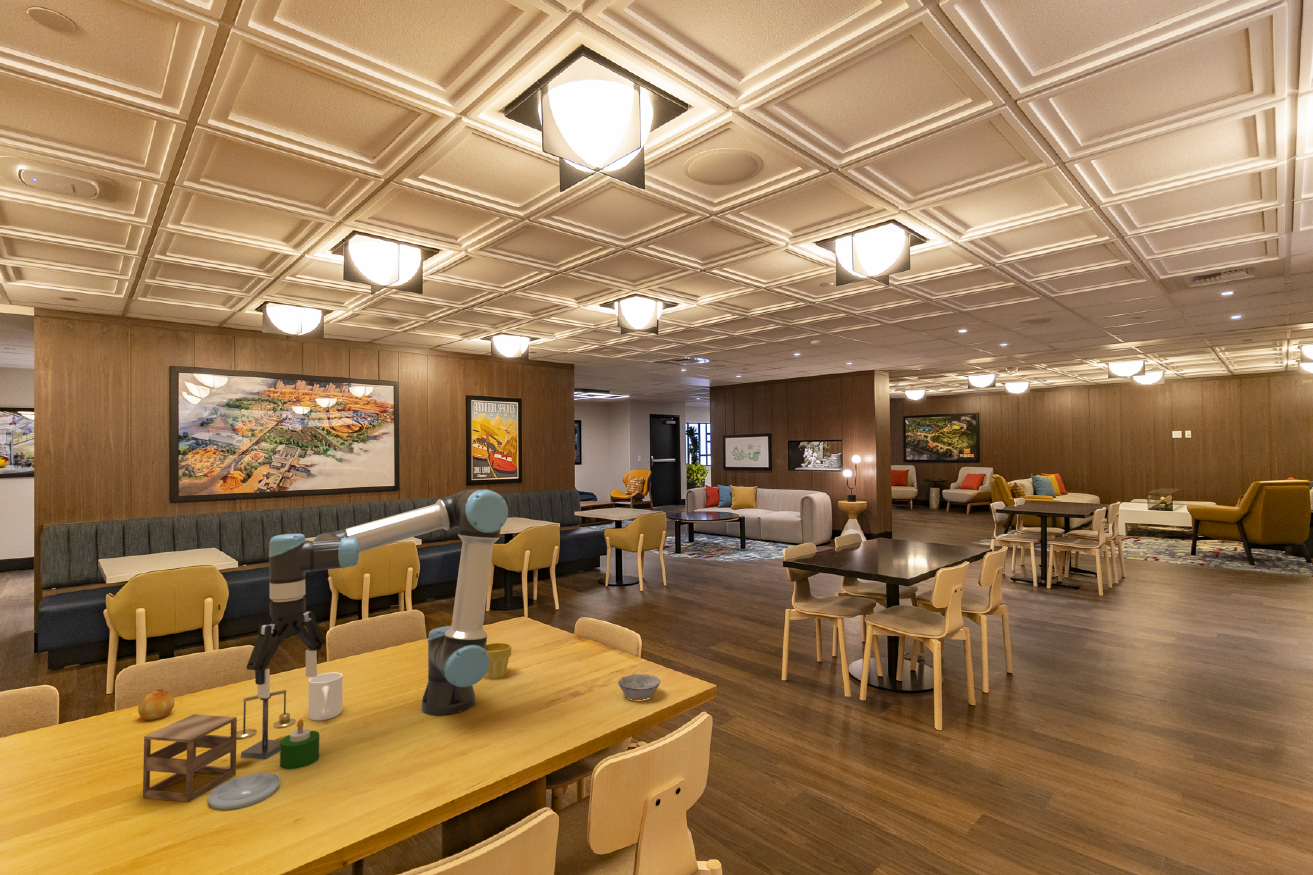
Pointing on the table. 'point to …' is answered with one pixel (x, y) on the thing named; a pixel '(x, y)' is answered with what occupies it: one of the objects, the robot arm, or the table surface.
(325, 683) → the mug
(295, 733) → the candle
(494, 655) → the plant pot
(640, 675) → the bowl
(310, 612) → the robot arm
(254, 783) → the dish
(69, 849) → the table surface
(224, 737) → the crate
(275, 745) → the balance
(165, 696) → the brown onion
